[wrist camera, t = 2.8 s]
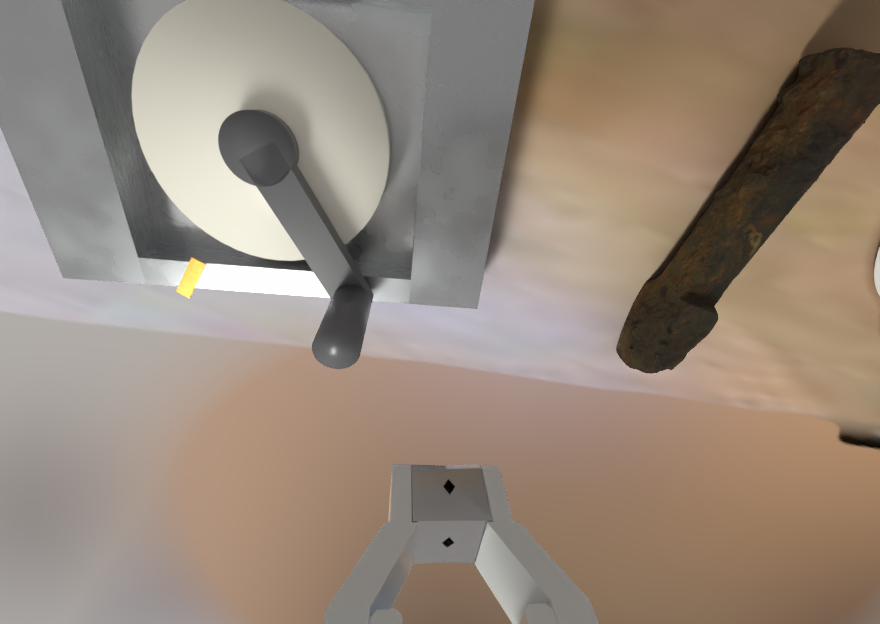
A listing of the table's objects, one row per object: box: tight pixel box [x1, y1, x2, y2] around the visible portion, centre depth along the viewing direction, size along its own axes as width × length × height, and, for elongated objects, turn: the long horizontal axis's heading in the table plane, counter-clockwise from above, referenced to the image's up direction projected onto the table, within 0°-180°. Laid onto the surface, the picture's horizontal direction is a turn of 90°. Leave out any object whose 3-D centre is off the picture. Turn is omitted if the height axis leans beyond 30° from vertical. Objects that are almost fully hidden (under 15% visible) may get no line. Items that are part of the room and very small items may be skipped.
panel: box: [0, 0, 535, 309], centre depth 18 cm, size 22×16×3 cm
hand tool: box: [616, 48, 880, 373], centre depth 21 cm, size 19×4×5 cm, turn 157°
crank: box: [131, 0, 391, 369], centre depth 16 cm, size 11×14×8 cm
